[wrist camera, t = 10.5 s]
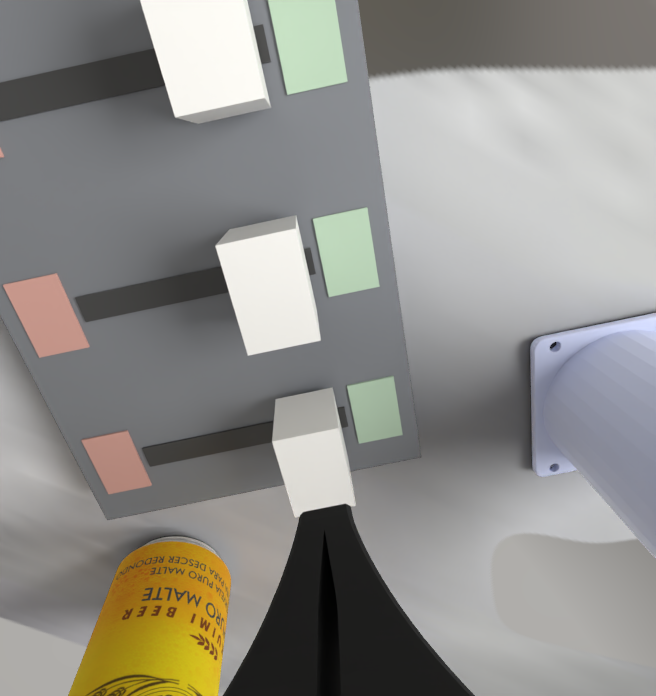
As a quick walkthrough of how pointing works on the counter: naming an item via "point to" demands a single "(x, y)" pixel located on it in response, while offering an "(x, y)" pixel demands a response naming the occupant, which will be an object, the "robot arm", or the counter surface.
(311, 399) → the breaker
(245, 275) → the block
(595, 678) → the counter surface
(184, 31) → the block
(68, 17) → the breaker board
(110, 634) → the yellow and white cylinder
